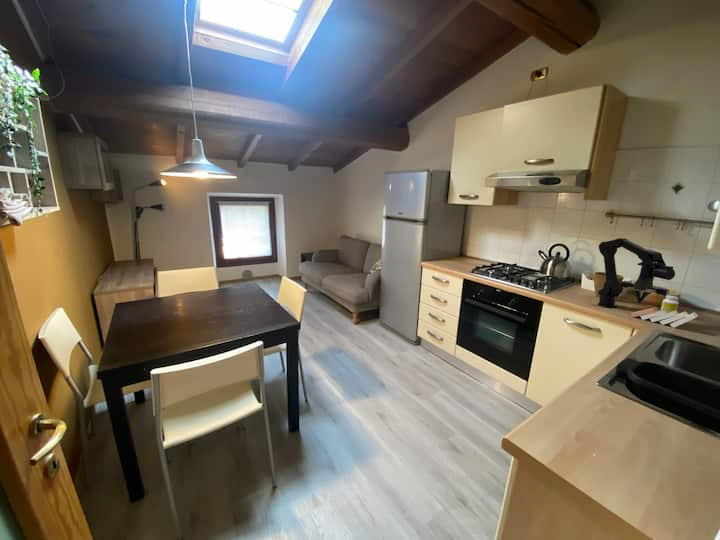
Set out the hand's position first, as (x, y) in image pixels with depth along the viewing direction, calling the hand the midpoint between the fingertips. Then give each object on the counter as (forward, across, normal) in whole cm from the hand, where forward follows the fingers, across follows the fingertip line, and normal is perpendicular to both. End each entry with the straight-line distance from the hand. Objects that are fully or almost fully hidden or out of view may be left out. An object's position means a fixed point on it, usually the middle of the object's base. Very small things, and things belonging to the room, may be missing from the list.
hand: (639, 303), depth 158 cm
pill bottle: (+8, +8, +21) cm, 24 cm away
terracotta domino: (+7, -1, 0) cm, 7 cm away
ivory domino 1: (+7, +3, 0) cm, 8 cm away
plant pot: (+8, -23, +26) cm, 36 cm away
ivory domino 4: (+7, +14, 0) cm, 16 cm away
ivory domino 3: (+7, +10, 0) cm, 13 cm away
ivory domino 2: (+7, +7, 0) cm, 10 cm away
